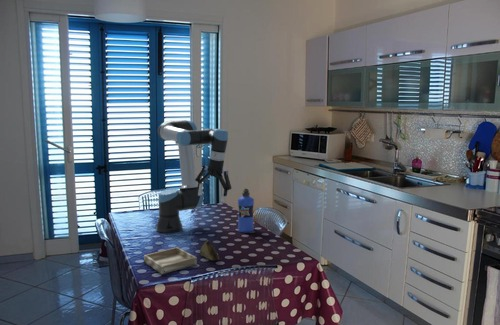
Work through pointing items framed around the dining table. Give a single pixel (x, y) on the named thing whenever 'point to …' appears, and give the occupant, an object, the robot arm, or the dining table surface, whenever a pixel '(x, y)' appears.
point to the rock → (208, 251)
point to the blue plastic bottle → (245, 212)
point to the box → (170, 260)
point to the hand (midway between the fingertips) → (210, 198)
